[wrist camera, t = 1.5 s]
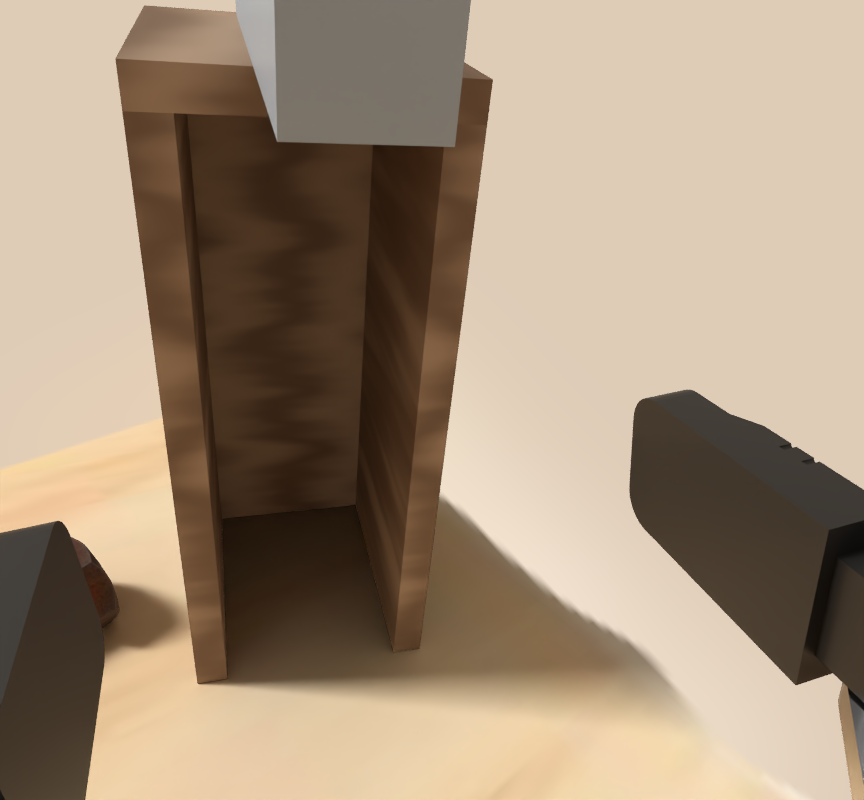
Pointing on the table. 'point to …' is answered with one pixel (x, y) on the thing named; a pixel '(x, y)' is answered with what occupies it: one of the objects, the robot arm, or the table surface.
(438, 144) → the gray l-shaped block
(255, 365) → the walnut stand
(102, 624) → the bolt
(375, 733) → the table surface
